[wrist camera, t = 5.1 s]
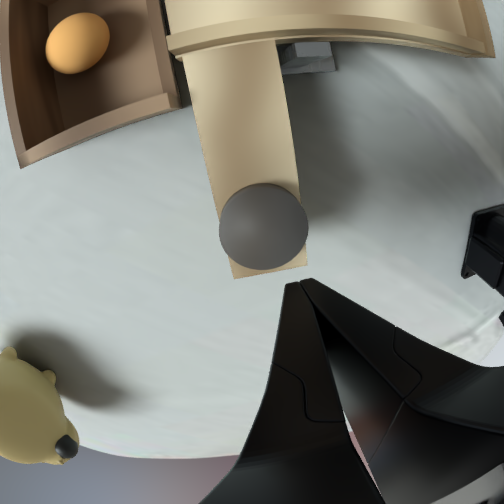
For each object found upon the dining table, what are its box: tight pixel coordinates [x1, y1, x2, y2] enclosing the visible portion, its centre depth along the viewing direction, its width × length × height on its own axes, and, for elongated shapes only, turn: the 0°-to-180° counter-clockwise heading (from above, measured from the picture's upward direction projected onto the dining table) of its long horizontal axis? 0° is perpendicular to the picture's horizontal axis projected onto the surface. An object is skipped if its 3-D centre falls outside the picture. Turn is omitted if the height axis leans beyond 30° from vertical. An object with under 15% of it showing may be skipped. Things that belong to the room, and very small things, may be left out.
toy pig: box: [0, 347, 79, 465], centre depth 16 cm, size 10×12×11 cm
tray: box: [0, 0, 182, 169], centre depth 8 cm, size 7×10×4 cm
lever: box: [165, 0, 496, 279], centre depth 9 cm, size 15×16×2 cm
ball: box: [46, 13, 110, 74], centre depth 8 cm, size 3×3×3 cm
